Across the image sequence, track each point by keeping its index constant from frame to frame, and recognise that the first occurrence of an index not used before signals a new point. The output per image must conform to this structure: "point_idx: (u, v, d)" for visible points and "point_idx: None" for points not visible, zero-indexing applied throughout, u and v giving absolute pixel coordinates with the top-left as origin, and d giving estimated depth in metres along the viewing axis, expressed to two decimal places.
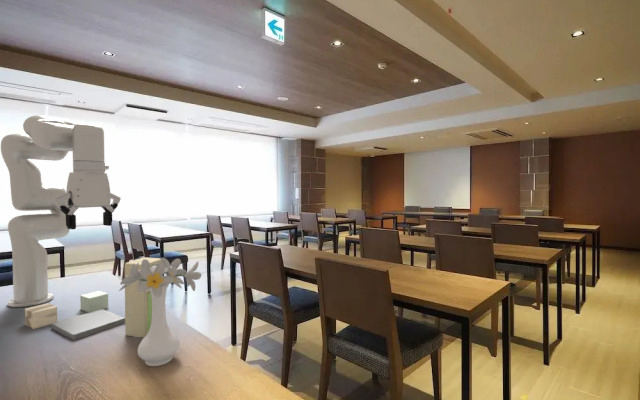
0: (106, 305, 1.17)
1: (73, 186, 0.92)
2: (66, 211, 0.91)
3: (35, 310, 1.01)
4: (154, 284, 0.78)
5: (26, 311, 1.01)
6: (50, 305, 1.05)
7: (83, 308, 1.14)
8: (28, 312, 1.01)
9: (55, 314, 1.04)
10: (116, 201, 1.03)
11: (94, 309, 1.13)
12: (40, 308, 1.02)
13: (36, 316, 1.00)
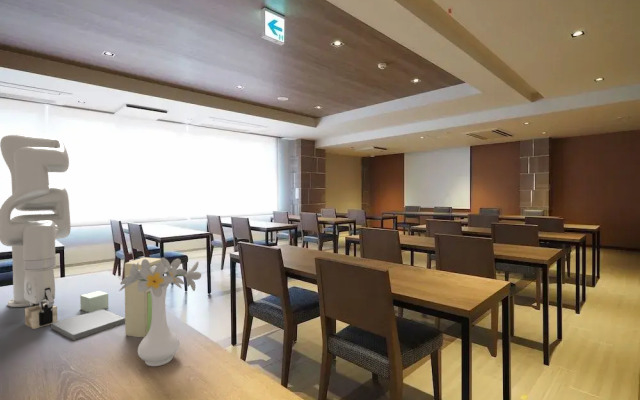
0: (106, 305, 1.17)
1: (52, 282, 1.01)
2: None
3: (35, 310, 1.01)
4: (154, 284, 0.78)
5: (26, 311, 1.01)
6: None
7: (83, 308, 1.14)
8: (28, 312, 1.01)
9: (55, 314, 1.04)
10: None
11: (94, 309, 1.13)
12: None
13: (36, 316, 1.00)
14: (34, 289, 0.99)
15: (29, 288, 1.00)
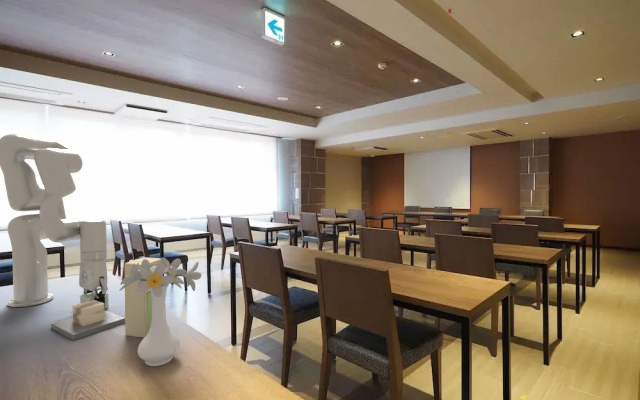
0: (106, 305, 1.17)
1: (105, 271, 1.14)
2: None
3: (84, 307, 0.99)
4: (154, 284, 0.78)
5: (74, 308, 1.00)
6: (97, 302, 1.04)
7: None
8: (77, 309, 0.99)
9: (102, 311, 1.02)
10: None
11: None
12: (87, 305, 1.01)
13: (85, 313, 0.98)
14: (90, 277, 1.11)
15: (85, 277, 1.13)
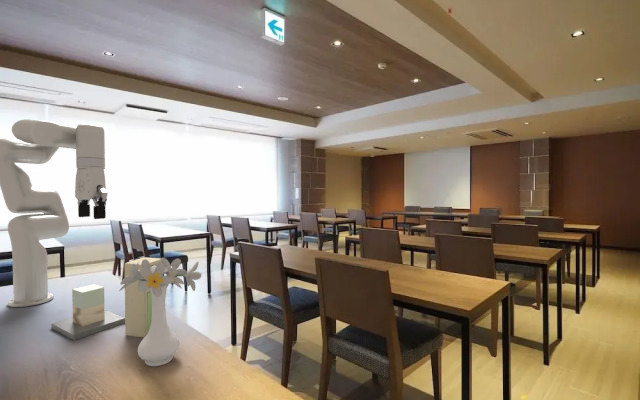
0: (102, 300, 1.02)
1: (103, 180, 1.05)
2: None
3: None
4: (154, 284, 0.78)
5: (74, 308, 1.00)
6: None
7: (75, 304, 1.00)
8: (77, 309, 0.99)
9: (102, 311, 1.02)
10: None
11: (88, 305, 0.99)
12: None
13: (85, 313, 0.98)
14: (87, 185, 1.03)
15: (81, 185, 1.04)
